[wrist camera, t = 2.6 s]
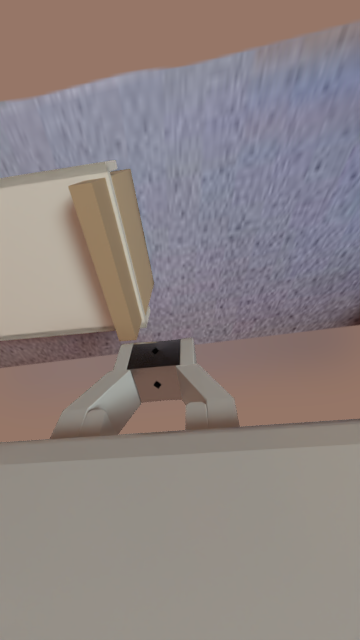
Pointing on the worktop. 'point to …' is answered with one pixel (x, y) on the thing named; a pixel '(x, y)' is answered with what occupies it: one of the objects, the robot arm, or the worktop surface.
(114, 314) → the lid
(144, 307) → the tan open box
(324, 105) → the worktop surface
